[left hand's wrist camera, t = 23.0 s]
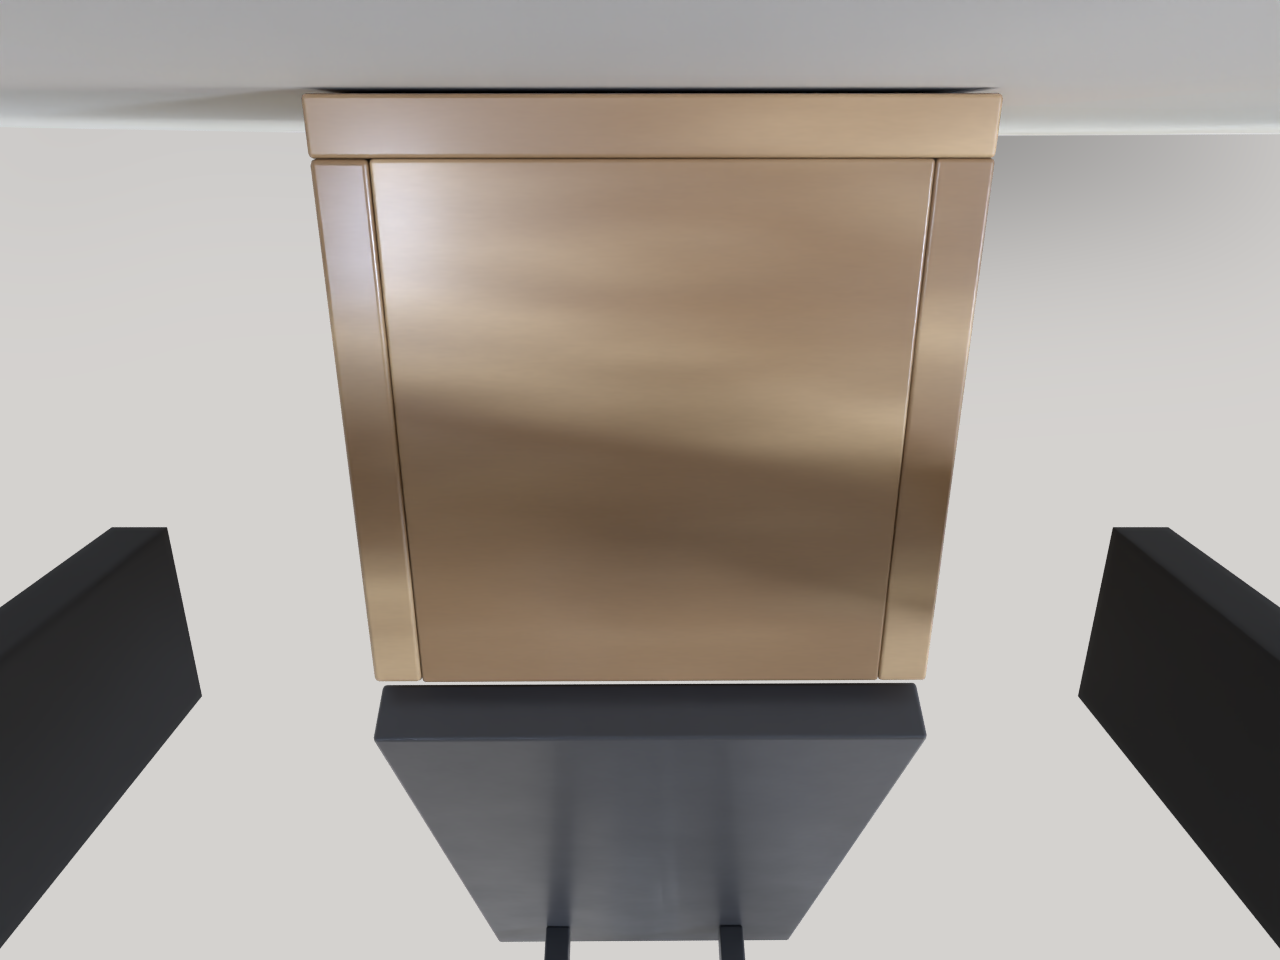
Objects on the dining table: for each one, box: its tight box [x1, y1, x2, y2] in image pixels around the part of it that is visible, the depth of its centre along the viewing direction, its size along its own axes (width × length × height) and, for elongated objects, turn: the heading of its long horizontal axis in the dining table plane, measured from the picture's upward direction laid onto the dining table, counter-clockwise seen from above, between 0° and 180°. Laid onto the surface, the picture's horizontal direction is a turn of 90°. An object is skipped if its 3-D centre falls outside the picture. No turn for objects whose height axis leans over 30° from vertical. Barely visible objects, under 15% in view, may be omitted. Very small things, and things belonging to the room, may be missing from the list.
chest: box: [302, 93, 1003, 682], centre depth 21 cm, size 16×9×9 cm, turn 0°
